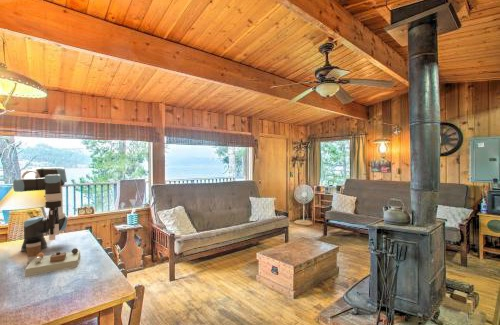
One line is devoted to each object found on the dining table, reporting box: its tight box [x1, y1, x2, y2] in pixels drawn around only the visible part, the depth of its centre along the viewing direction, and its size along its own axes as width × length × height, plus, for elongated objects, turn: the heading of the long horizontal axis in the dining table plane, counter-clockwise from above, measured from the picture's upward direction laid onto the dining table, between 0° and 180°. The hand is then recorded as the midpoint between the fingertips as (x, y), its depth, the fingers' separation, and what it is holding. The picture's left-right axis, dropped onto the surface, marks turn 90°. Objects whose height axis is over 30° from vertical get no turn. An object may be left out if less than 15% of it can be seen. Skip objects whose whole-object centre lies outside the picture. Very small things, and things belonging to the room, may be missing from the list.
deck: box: [24, 250, 81, 277], centre depth 164 cm, size 20×25×4 cm
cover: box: [50, 251, 67, 262], centre depth 163 cm, size 7×7×4 cm
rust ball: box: [37, 252, 45, 258], centre depth 166 cm, size 4×4×4 cm
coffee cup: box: [25, 237, 42, 263], centre depth 173 cm, size 8×8×15 cm
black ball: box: [71, 247, 79, 254], centre depth 173 cm, size 4×4×4 cm
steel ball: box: [34, 257, 42, 263], centre depth 158 cm, size 4×4×4 cm
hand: (54, 237), depth 153 cm, fingers open, 12 cm apart
